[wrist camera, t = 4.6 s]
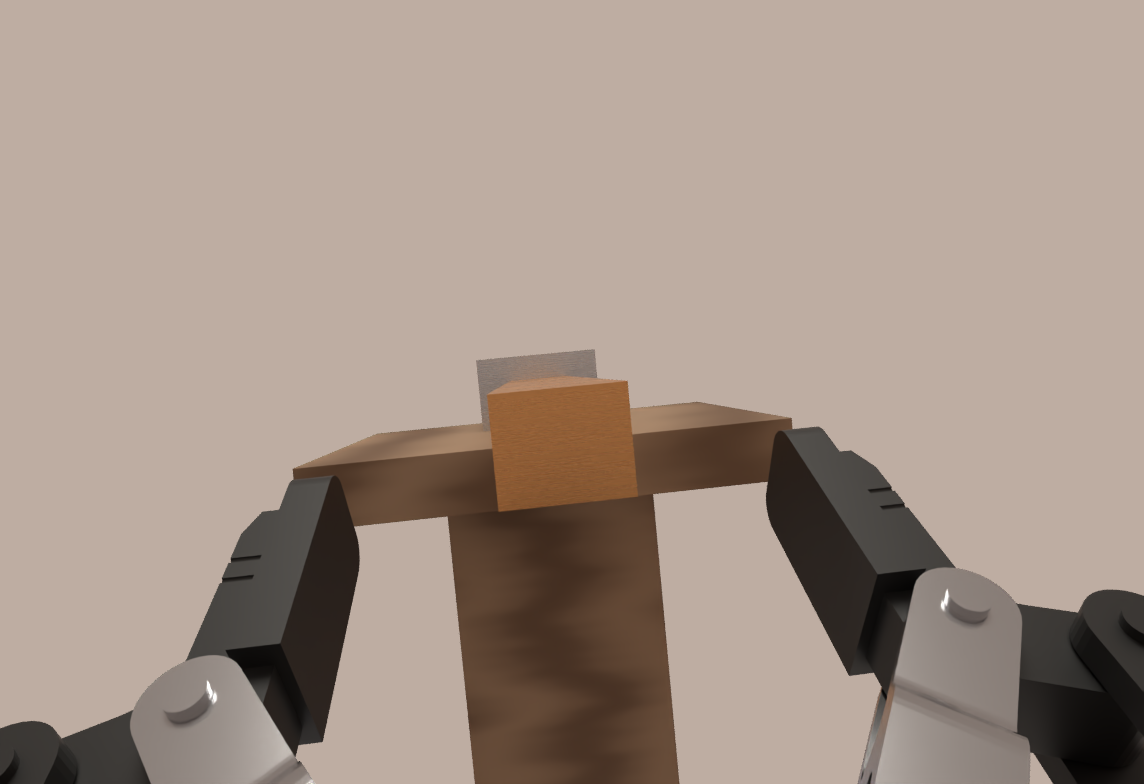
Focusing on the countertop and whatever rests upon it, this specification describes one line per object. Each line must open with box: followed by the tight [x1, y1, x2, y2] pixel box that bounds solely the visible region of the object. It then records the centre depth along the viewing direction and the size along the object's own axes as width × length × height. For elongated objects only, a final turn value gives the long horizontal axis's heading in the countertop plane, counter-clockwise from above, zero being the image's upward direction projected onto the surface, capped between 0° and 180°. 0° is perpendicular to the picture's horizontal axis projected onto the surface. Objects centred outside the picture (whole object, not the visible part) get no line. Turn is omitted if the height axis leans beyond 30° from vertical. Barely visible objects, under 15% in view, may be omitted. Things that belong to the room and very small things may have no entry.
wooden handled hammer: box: [476, 350, 638, 512], centre depth 22 cm, size 5×22×3 cm, turn 4°
